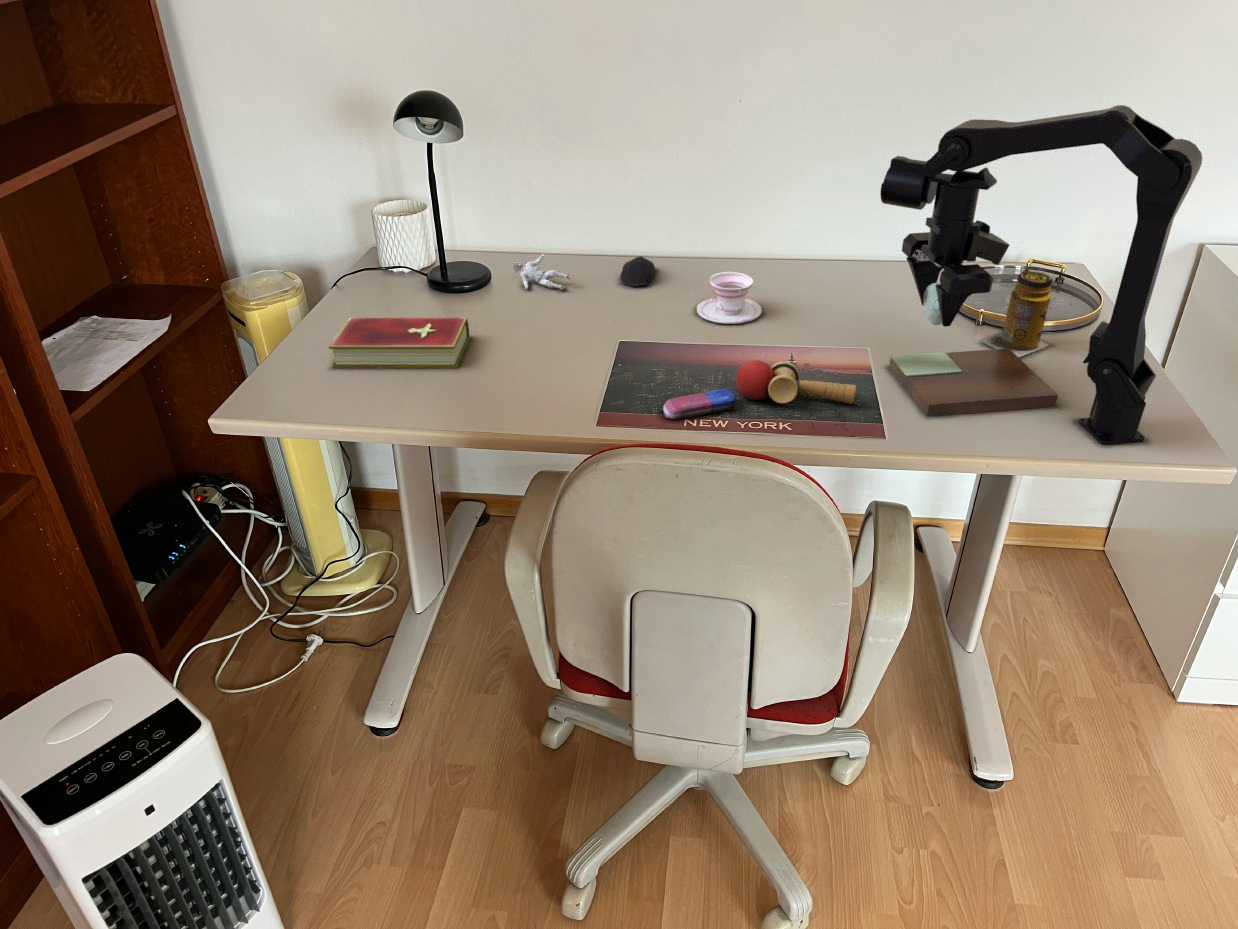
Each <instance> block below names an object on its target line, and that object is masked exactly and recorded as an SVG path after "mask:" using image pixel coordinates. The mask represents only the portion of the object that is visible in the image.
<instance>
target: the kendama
mask: <svg viewBox="0 0 1238 929" xmlns="http://www.w3.org/2000/svg"><path fill="white" fill-rule="evenodd" d="M735 387H736V389H737V392H738V393H740V394H741V395H742V396H743V397H744V398H746V399H750V400H754V401H755V400H762V399H764V398H768V397H770V398H771V400H772V401H774V402H775V403H777V404H789V403H791V402H792V401H794V400H795V398H796V397H797V395H798V392H801V393H805V394H808V395H811V396H815V397H821V398H824V399H827V400H829V399H830V400H833V401H837V402H842V403H845V404H849V405H853V404H854V401H855V399H856V394H857V385H856V384H848V383H838V382H829V381H828V382H827V381H820V380H803V379H800V374H799V370H798V368H797V367H796V365H795V364H794V363H792V362H790V361H786V360H781V361H778V362H776V363H774V364H772V365H771V366H770V364H768V363H767V362H765V361H762V360H755V359H754V360H749V361H746V362H745V363H743V364H742V365H741V366H740V367H739V368H738V371H737V372H736V376H735Z"/></svg>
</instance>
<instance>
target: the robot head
mask: <svg viewBox="0 0 1238 929" xmlns="http://www.w3.org/2000/svg"><path fill="white" fill-rule="evenodd" d="M936 285H940V282H938V281H937V282H936V283H932V284H931V285H929V286H928V287H927V289H926V290H925V292H924V297H923V301H924V306H923V310H924V314H925V316H926V319H927V320H928V322H929V323H930V324H931V325H933V326H939V325H942V321H941V316H940V310H939V303H938V297H937V291H936Z"/></svg>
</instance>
